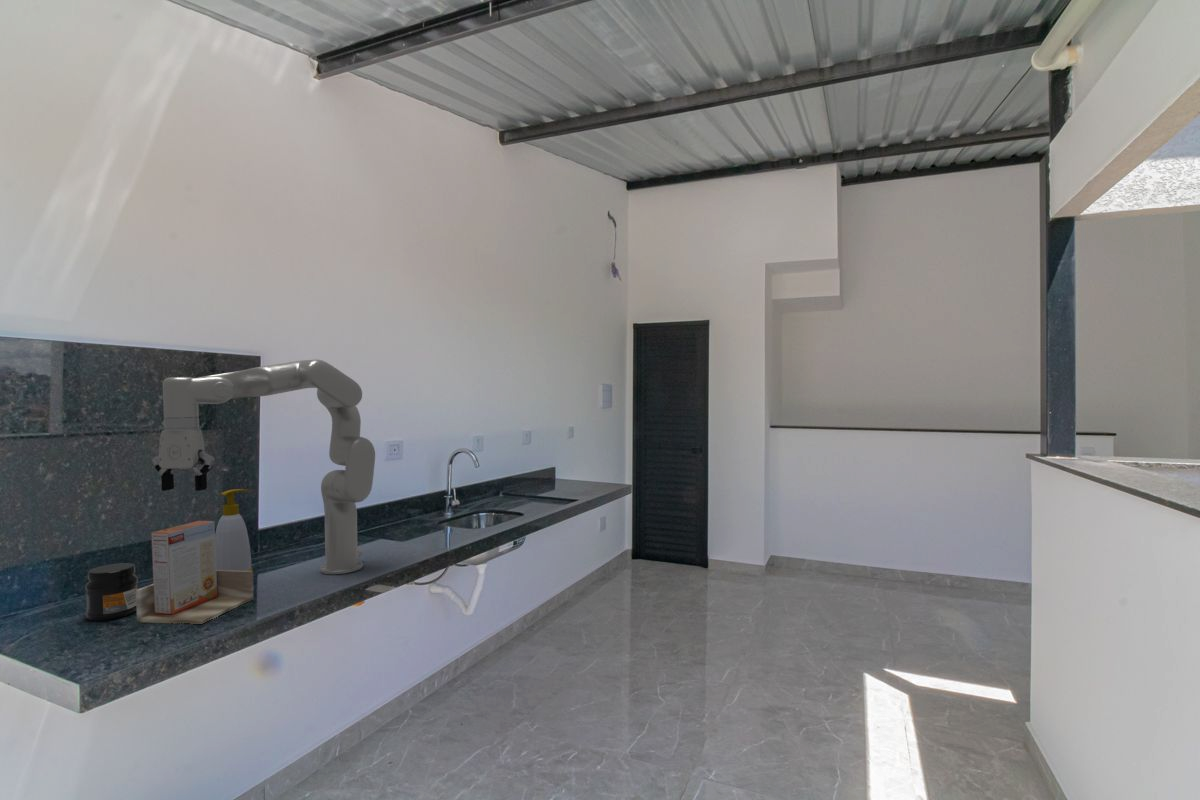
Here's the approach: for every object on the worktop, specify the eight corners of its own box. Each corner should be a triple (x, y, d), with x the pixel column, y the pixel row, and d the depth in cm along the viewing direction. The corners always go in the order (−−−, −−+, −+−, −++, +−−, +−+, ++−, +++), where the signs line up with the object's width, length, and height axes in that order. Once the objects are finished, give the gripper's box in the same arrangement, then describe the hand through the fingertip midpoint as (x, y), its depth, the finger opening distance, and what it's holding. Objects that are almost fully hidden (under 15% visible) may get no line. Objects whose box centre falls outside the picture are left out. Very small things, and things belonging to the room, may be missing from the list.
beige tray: (194, 597, 171) (193, 568, 171) (253, 600, 168) (252, 570, 168) (136, 621, 153) (136, 589, 153) (202, 624, 150) (201, 592, 150)
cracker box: (200, 595, 169) (198, 519, 169) (218, 597, 167) (216, 520, 167) (152, 614, 155) (150, 531, 155) (171, 615, 154) (169, 532, 154)
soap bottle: (259, 572, 194) (257, 489, 194) (217, 581, 185) (216, 494, 185) (246, 566, 201) (244, 486, 201) (206, 574, 193) (204, 490, 192)
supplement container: (141, 614, 158) (140, 567, 158) (88, 625, 151) (87, 576, 151) (135, 604, 166) (134, 560, 166) (84, 614, 159) (83, 568, 158)
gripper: (139, 425, 158) (142, 492, 158) (200, 425, 156) (203, 492, 156) (164, 423, 165) (167, 487, 166) (222, 423, 163) (225, 487, 163)
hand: (184, 489), depth 161 cm, fingers open, 9 cm apart
